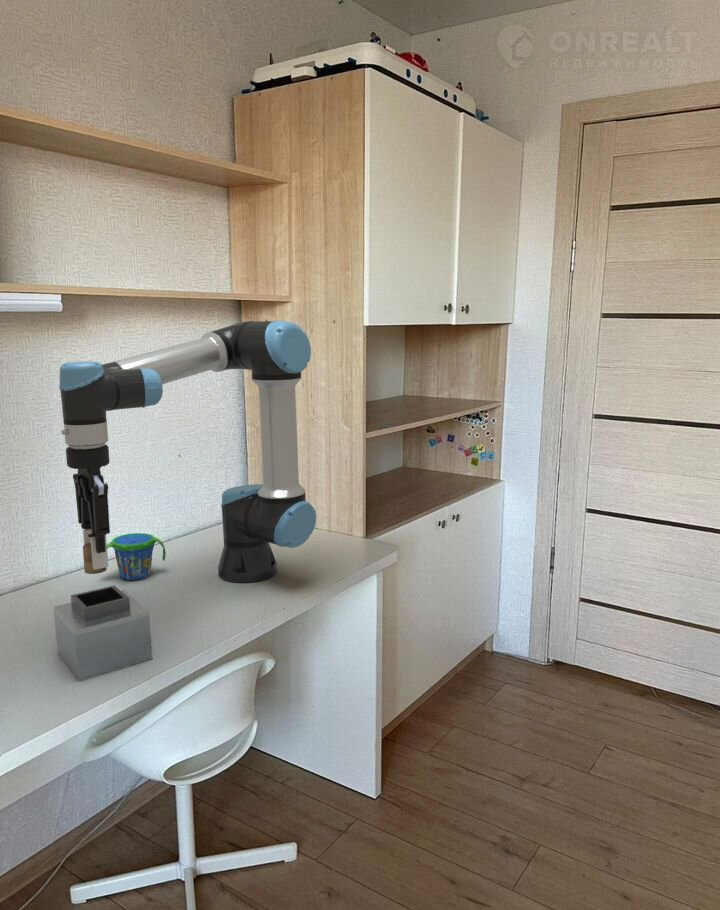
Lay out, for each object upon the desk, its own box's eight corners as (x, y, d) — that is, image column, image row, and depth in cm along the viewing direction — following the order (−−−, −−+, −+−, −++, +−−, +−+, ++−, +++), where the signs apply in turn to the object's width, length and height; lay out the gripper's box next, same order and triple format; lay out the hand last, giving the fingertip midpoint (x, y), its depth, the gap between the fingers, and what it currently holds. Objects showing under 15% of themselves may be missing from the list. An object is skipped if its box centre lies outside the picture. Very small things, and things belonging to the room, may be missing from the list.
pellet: (102, 565, 141) (101, 541, 140) (109, 571, 137) (107, 546, 137) (81, 569, 138) (80, 544, 137) (88, 575, 135) (86, 550, 134)
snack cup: (166, 566, 192) (164, 530, 190) (167, 580, 182) (164, 541, 180) (105, 572, 188) (102, 535, 186) (102, 586, 178) (99, 547, 176)
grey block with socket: (127, 634, 151) (122, 578, 149) (152, 658, 140) (148, 598, 138) (58, 653, 143) (52, 594, 140) (79, 681, 132) (73, 617, 130)
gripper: (53, 441, 138) (64, 557, 142) (80, 454, 125) (90, 581, 129) (93, 437, 142) (102, 549, 147) (122, 449, 129) (131, 572, 133)
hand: (96, 564), depth 138 cm, fingers closed on pellet, 4 cm apart
